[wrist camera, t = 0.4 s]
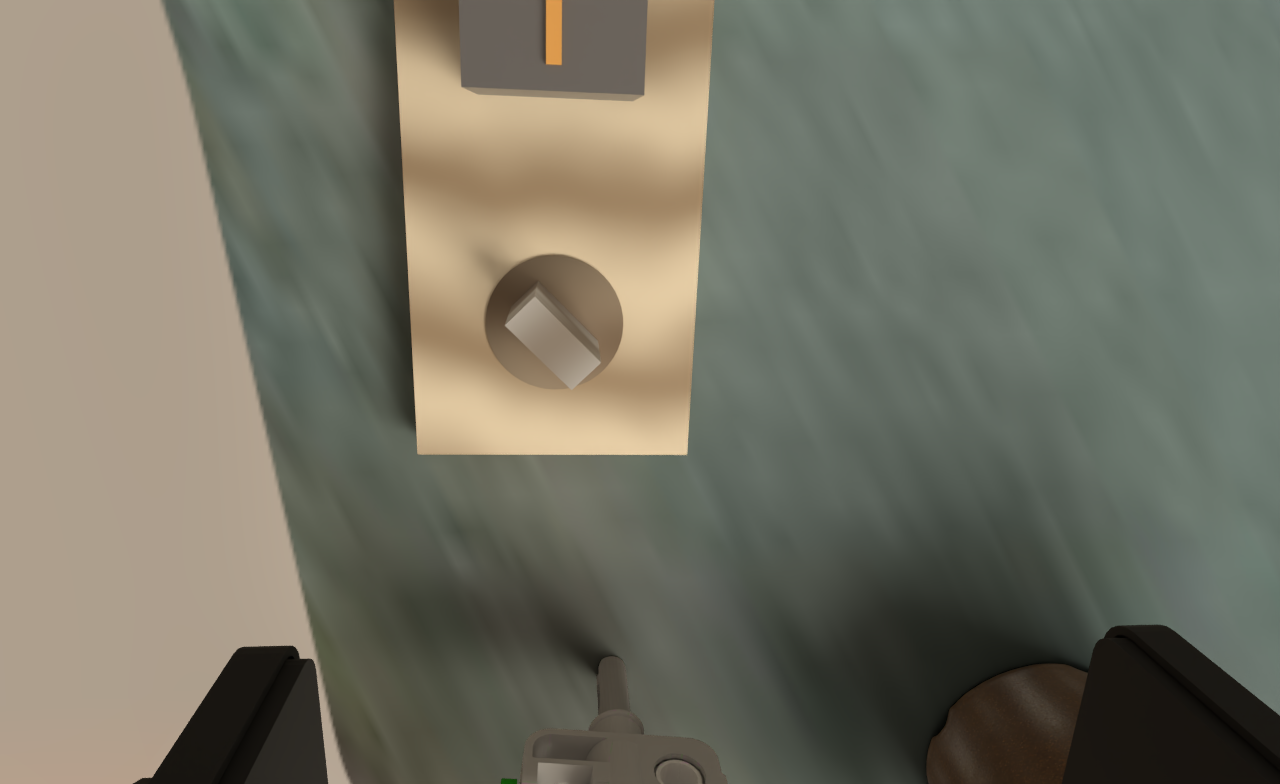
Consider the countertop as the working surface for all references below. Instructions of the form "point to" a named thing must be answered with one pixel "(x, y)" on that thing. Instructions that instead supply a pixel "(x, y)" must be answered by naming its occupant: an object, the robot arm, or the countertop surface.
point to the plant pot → (1010, 729)
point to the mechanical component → (615, 747)
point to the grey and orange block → (554, 48)
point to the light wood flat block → (553, 247)
